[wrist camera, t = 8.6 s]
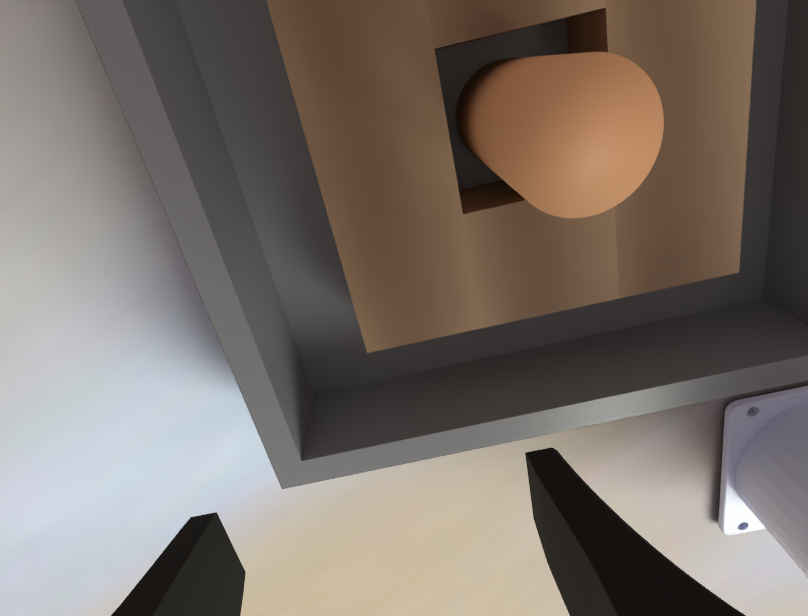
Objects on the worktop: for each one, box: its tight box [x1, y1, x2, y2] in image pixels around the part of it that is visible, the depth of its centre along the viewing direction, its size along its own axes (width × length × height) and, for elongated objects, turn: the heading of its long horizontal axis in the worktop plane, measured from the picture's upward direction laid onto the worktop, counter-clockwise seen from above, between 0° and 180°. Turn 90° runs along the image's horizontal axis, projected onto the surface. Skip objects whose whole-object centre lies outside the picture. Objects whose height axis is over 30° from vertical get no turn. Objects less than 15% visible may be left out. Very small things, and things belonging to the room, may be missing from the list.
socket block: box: [266, 0, 756, 353], centre depth 15 cm, size 12×12×3 cm
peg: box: [456, 52, 664, 218], centre depth 14 cm, size 3×3×7 cm
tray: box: [76, 0, 808, 489], centre depth 15 cm, size 20×20×4 cm
